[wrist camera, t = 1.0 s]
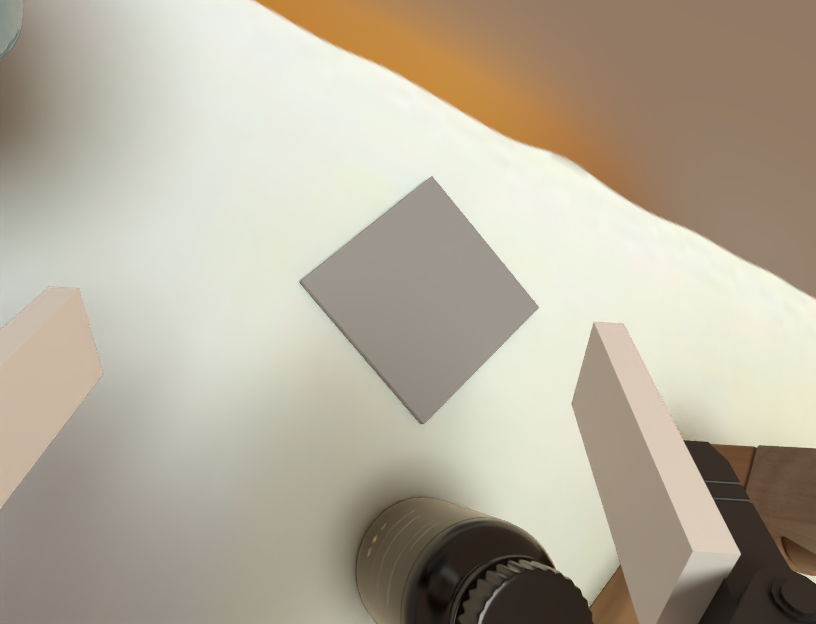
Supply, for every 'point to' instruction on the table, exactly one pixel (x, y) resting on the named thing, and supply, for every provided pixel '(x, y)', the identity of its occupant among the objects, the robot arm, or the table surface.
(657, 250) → the table surface
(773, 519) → the wooden block
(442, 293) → the felt pad
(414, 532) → the supplement bottle
